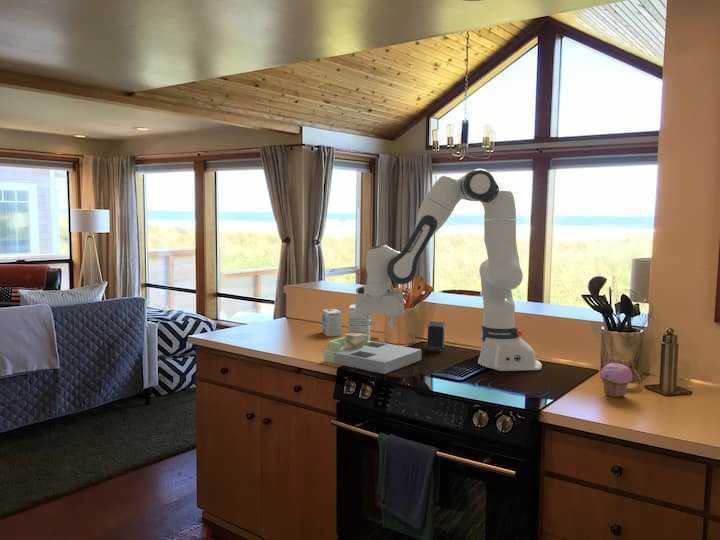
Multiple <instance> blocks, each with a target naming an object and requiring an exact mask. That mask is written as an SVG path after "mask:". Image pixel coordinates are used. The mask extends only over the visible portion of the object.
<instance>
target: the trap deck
mask: <svg viewBox="0 0 720 540" xmlns="http://www.w3.org/2000/svg"><path fill="white" fill-rule="evenodd" d="M420 361H422V349H420V348H413V347H408V346H403V345H396V344H391V343H385V342H378V341H372V340H369V341H368V335H364V334H363V347H362V348H358V349H350V348H345V336H344V337H340V338H337V339H331V340H330V341H328V349H325V350H323V362H326V363H331V364H335V365H340V366H344V367H349V368H354V367H355V369H358V368H359V369H360V370H364V371H368V372H373V373H379V374H384V375H386V374H389V373H392V372H393V371H396V370H399V369H402V368H404V367H407V366H410V365H411V364H412V365H413V364H414V363H417V362H420Z"/></svg>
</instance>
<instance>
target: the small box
mask: <svg viewBox="0 0 720 540" xmlns="http://www.w3.org/2000/svg"><path fill="white" fill-rule="evenodd" d="M445 325H446V324H445V322H444V321H432V320H431V321H429V323H428V325H427V345H426V346H427V347H426V350H427V351H426V352H435V353H436V352H437V353H438V352H439V353H440V352H441V353H442V352H443V351H444V347H445V331H446V329H445V327H446V326H445Z"/></svg>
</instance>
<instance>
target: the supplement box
mask: <svg viewBox="0 0 720 540" xmlns="http://www.w3.org/2000/svg"><path fill="white" fill-rule="evenodd" d="M369 316H370V317H371V314H370V315H369ZM349 333H359V334H364V335H368V341H371V340H370V339H371V325H367V320H366V318H365V316H364V313H358V312H357V311H356V307H355V304H350V306H348V334H349Z"/></svg>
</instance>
